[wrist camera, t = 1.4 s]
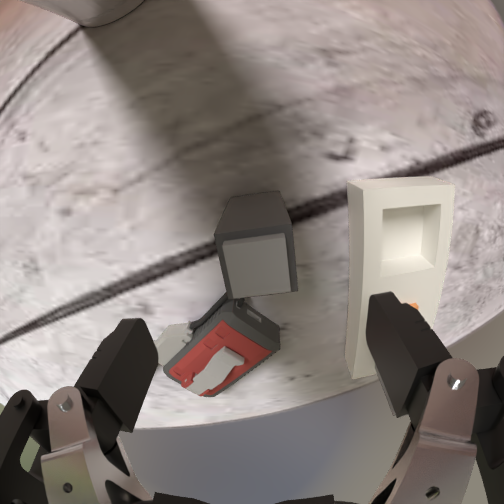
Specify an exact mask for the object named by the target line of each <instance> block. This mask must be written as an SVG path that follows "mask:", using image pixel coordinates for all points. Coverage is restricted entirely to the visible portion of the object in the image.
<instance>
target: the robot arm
mask: <svg viewBox="0 0 504 504" xmlns="http://www.w3.org/2000/svg"><path fill="white" fill-rule="evenodd" d="M19 1H22V2H25V3H28V4H31V5H34V6H37V7H40V8H42V9H45V10H47V11H50V12H52V13H55V14H57V15H59V16H62V17H64V18H66V19H69V20H71V21H73V22H75V23H78V24H80V25H82V26H86V27H97V26H101V25H105V24H108V23H110V22H113V21H115V20H117V19H119V18H121V17H123V16H125V15H126V14H127V13H129V12H130V11H132V10H134V9H135V8H136V7H137V6H138V5H140V4H141V3H142V2H143V1H144V0H19ZM366 341H367V345H368V348H369V350H370V353H371V355H372V357H373V359H374V362H375V364H376V366H377V369H378V371H379V374H380V376H381V378H382V381H383V383H384V386H385V388H386V391H387V393H388V396H389V398H390V401H391V403H392V406H393V408H394V411H395V414H396V416H397V418H398V417H402V416H405V415H409V417H410V420H411V422H410V424H409V426H408V428H407V431H406V433H405V436H404V439H403V441H402V443H401V445H400V448H399V450H398V452H397V454H396V457H395V459H394V461H393V463H392V465H391V467H390V469H389V471H388V473H387V475H386V476H385V478H384V479H383V481H382V482H381V484H380V485H379V487H378V489H377V490H376V492H375V494H374V495H373V497H372V499H371V500H370V502H369V504H461V503H462V500H463V497H464V495H465V492H466V489H467V486H468V483H469V480H470V476H471V473H472V470H473V466H474V462H475V458H476V461H477V464H478V467H479V470H480V473H481V476H482V480H483V484H484V487H485V491H486V495H487V499H488V504H504V356H503V357H502V359H501V361H500V363H499V364H498V366H497V367H495V368H488V369H479V370H476V368H475V367H474V366H473V365H472V364H471V363H469V362H468V361H466V360H464V359H459V358H452V356H451V355H450V353H449V352H448V351H447V349H446V348H445V346H444V345H443V343H442V342H441V341H440V339H439V338H438V336H437V335H436V334H435V332H434V331H433V329H431V327H430V325H429V324H428V323H427V321H425V319H424V317H423V316H422V315H421V313H420V312H419V311H418V310H417V309H416V308H414V307H412V306H411V305H409V304H408V303H402V304H401V302H400V301H399V300H398V298H397V297H396V296H395V294H394V293H393V292H392V291H389V292H384V293H378V294H373V295H371V296H370V298H369V304H368V314H367V323H366ZM158 360H159V357H158V351H157V348H156V346H155V344H154V341H153V339H152V337H151V335H150V332H149V330H148V328H147V325H146V323H145V321H144V320H143V319H141V318H132V319H122V320H121V321H120V323H119V324H118V326H117V327H116V329H115V330H114V332H112V333H111V334H110V335H108V336H107V337H106V338H105V339H104V340H103V341H102V342H101V344H100V345H99V347H98V348H97V351H96V352H95V353H94V355H93V356H92V359H90V361H89V363H88V364H87V366H86V367H85V369H84V371H83V372H82V374H81V375H80V377H79V379H78V380H77V382H76V384H75V385H74V387H72V386H67V387H63V388H60V389H58V390H57V391H56V392H54V393H53V394H52V396H51V397H50V399H49V400H40V401H37V400H36V398H35V397H34V396H33V395H32V393H31V392H30V391H28V390H20V391H18V392H16V393H15V394H14V395H13V396H12V397H11V398H10V400H9V401H8V403H7V405H6V406H5V408H4V410H3V412H2V413H1V415H0V504H209V503H206V502H203V501H200V500H197V499H194V498H186V497H179V496H173V495H168V494H162V493H157V492H155V494H154V498H153V499H152V497H151V496H150V494H149V493H148V492H147V490H146V489H145V488H144V487H143V486H142V485H141V484H140V482H139V481H138V479H137V477H136V475H135V473H134V471H133V469H132V466H131V464H130V462H129V459H128V457H127V454H126V452H125V449H124V447H123V444H122V442H121V440H120V438H119V437H118V434H119V431H125V432H130V433H132V432H133V429H134V426H135V423H136V421H137V418H138V415H139V412H140V410H141V407H142V404H143V402H144V399H145V396H146V394H147V391H148V389H149V386H150V383H151V381H152V378H153V376H154V373H155V371H156V368H157V365H158ZM29 436H30V437H31V438H33V439H34V440H35V441H36V442H37V443H38V444H39V445H40V447H39V450H38V452H37V455H36V457H35V459H34V462H33V464H32V467H31V469H30V471H29V472H27V471H25V470H24V469H23V468H22V467H21V464H20V456H21V454H22V452H23V449H24V447H25V445H26V443H27V441H28V438H29ZM276 504H357V503H353V502H344V501H334V496H333V495H326V496H321V497H314V498H307V499H297V500H287V501H283V502H280V503H276Z"/></svg>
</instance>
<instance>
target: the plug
mask: <svg viewBox="0 0 504 504" xmlns="http://www.w3.org/2000/svg"><path fill="white" fill-rule="evenodd" d="M214 237H215V242H216V246H217V251H218V256H219V260H220V265H221V269H222V274H223V278H224V282H225V287H226V291H227V295H228V299H236V298H245V297H254V296H263V295H271V294H279V293H287V292H294V291H298V284H297V272H296V261H295V251H294V241H293V231H292V223H291V220H290V218H289V215H288V212H287V210H286V207H285V205H284V202H283V199H282V197H281V194H280V192H279V191H273V192H265V193H258V194H251V195H244V196H237V197H231V198H230V200H229V202H228V204H227V206H226V209H225V211H224V213H223V215H222V217H221V220H220V222H219V224H218V226H217V228H216V231H215V233H214Z"/></svg>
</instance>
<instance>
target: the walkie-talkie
mask: <svg viewBox="0 0 504 504" xmlns="http://www.w3.org/2000/svg"><path fill="white" fill-rule="evenodd" d="M154 344H155V346H156V348H157V351H158V357H159V360H158V363H159V364H161V365H162V366H164V367H163V371H164V373H165V374H166V375H167V376H168V377H169V378H171V379H172V380H174V381H176V382H178V383H179V384H181V386H182V387H184V388H185V389H187V390H189V391H191V392H193V393H195V394H197V395H199V396H204V397H215V396H216V395H218V394H219V393H221V392H222V391H224V390H225V389H226V388H228V387H229V386H231V385H232V384H234V383H235V382H237V381H238V380H239V379H240V378H242V377H243V376H245V375H246V374H247V373H249V372H250V371H252V370H253V369H254V368H256V367H257V366H258V365H260V364H261V363H262V362H264V361H265V360H266V359H268V358H269V357H270V356H272V354H274V353H276V351H278V350H280V335H279V326H278V325H277V324H275V323H274V322H272V321H271V320H269V319H268V318H266V317H265V316H263V315H262V314H260V313H259V312H258V311H256V310H255V309H253V308H252V307H250V306H249V305H247V304H246V303H245V302H244V298H240V299H239V298H236V299H228V295H227V292H226V293H225V294H224V295H223V296H222V297H221V298H220V299H219V300H218V301H217V302H216V303H215V304H214V305H213V306H212V307H211V309H210V310H209V311H208V312H207V313H206V314H205V315H204V316H203V317H202V318H200V319H199V320H197V321H194V322H190V321H189V322H188V323H182V324H174V325H169V326H168V327H167V328H166V329H165V331H164V332H163V333H162V334H161V335H160V336H159V337H158V339H157V340H154Z"/></svg>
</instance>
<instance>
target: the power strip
mask: <svg viewBox="0 0 504 504" xmlns="http://www.w3.org/2000/svg"><path fill="white" fill-rule="evenodd" d="M454 194H455V185H454V184H451V183H449V182H446V181H443V180H440V179H437V178H434V177H431V176H425V177H399V178H380V179H365V180H352V181H347V195H348V216H349V295H348V316H347V331H346V343H345V354H344V356H345V359H346V362H347V365H348V369H349V372H350V375H351V378H352V380H353V379H358V378H362V377H367V376H371V375H375V374H377V375H378V377H379V380H380V382H381V385H382V387H383V390H384V393H385V395H386V398H387V400H388V403H389V406H390V409H391V411H392V414H393V416H394V415H396V414H395V411H394V408H393V406H392V403H391V401H390V398H389V396H388V393H387V391H386V388H385V386H384V383H383V381H382V378H381V376H380V374H379V371H378V369H377V366H376V364H375V362H374V359H373V357H372V355H371V353H370V350H369V348H368V345H367V341H366V323H367V314H368V304H369V298H370V296H371V295H373V294H378V293H384V292H389V291H392V292H393V293H394V294H395V296H396V297H397V298H398V300H399V301H400V302H401V304H402V303H408V304H409V305H411V306H412V307H414V308H416V309H417V310H418V311H419V312H420V313H421V315H422V316H423V317H424V319H425V321H427V323H428V324H429V325H430V327H431V329H432V328H433V324H434V321H435V317H436V313H437V309H438V305H439V301H440V297H441V293H442V288H443V284H444V279H445V273H446V268H447V262H448V256H449V249H450V242H451V233H452V224H453V212H454ZM405 416H407V415H405ZM402 417H404V416H402Z"/></svg>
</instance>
